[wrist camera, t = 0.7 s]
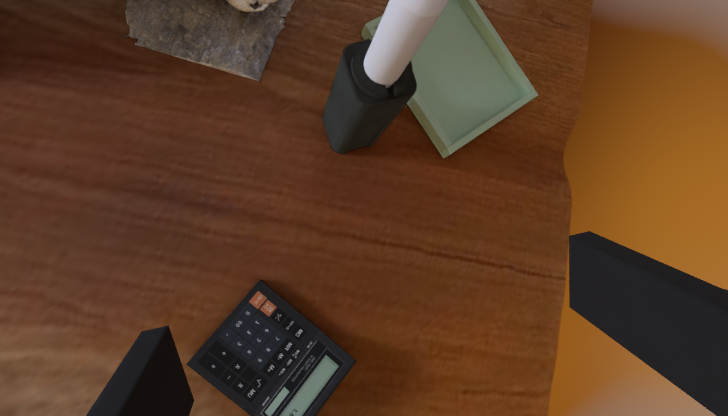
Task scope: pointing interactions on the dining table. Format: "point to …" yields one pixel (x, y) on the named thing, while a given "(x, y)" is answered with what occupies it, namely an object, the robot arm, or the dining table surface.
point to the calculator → (272, 358)
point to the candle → (378, 75)
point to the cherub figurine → (210, 31)
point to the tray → (463, 77)
